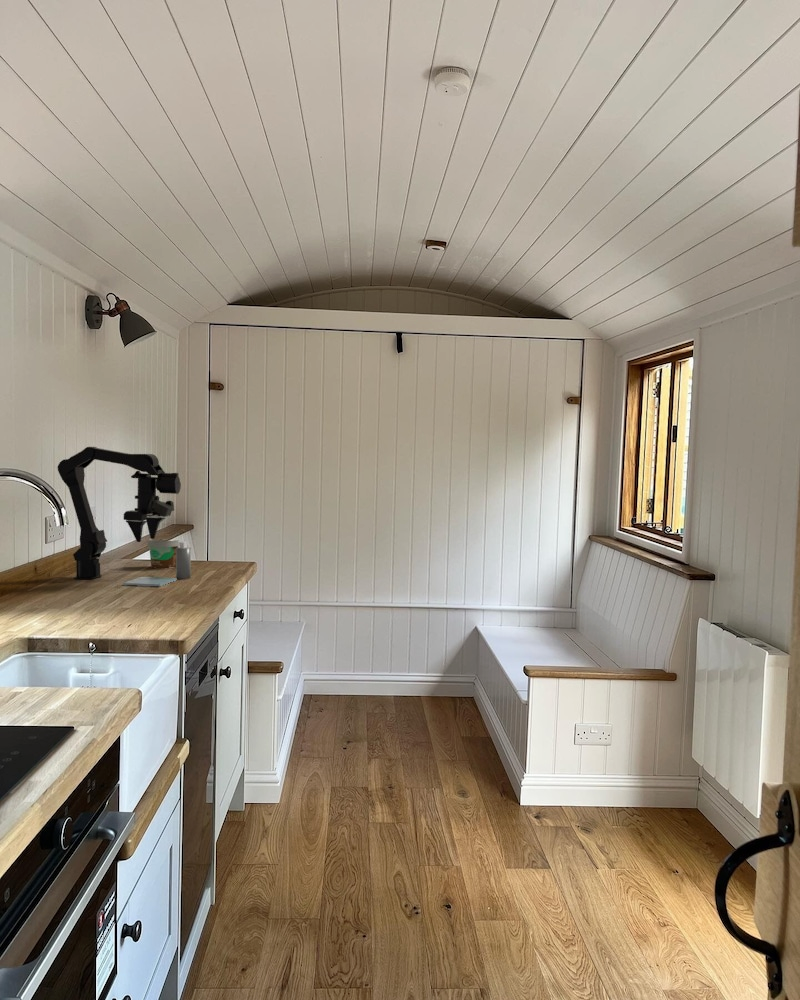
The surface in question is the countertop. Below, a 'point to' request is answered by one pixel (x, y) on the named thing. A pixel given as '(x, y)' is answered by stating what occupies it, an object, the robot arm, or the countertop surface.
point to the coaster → (150, 581)
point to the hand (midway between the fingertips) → (145, 540)
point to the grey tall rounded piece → (183, 561)
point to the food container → (163, 553)
